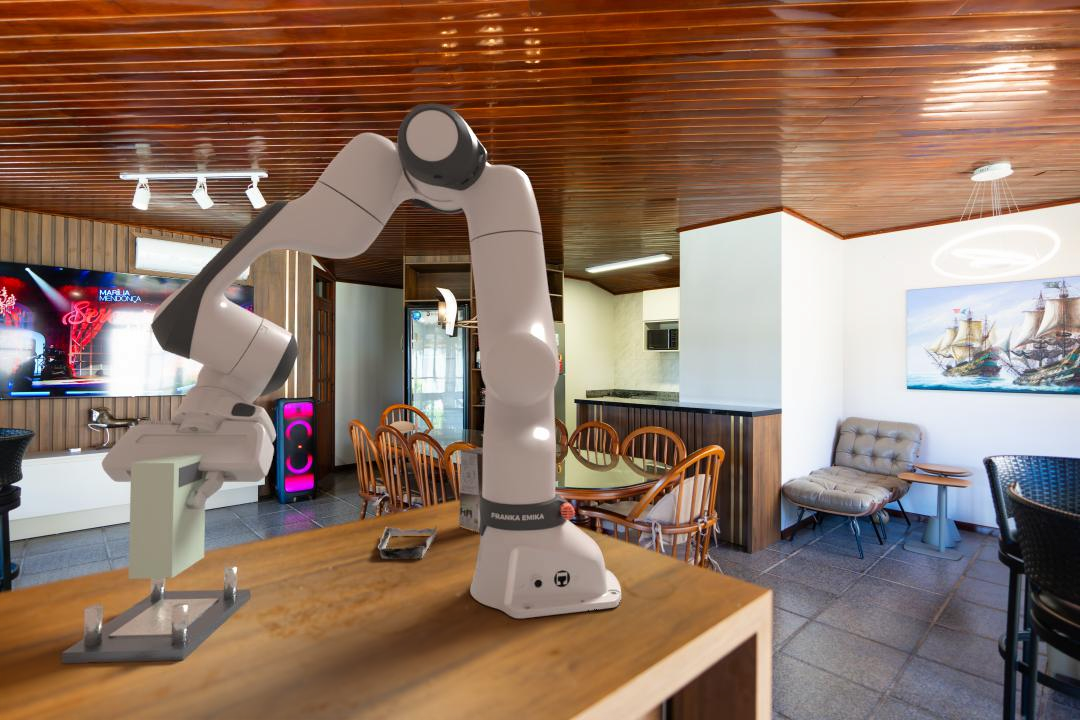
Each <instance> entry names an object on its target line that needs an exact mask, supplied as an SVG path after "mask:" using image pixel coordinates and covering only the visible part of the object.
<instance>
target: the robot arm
mask: <svg viewBox="0 0 1080 720" xmlns="http://www.w3.org/2000/svg"><path fill="white" fill-rule="evenodd" d="M396 140H397V142H393V141H392V140H390V139H389V138H387V137H385V136H383V135H380V134H377V133H374V132H362V133H359V134H358V135H355V136H354V137H353V138H352V139H351V140H350V141H349V142H348V143H347V144H346V145H345V146H344V147H343V148H342V149H340V151H339V152H338V153H337V154H336V156H335V157H334V158H333V159H332V160H331V161H330V163H329V164H328V166H327V167H326V168H325V170H324V171H323V172H322V173H321V175H320V176H319V178H318V179H317V181H316V182H315V184H314V185H313V186H312V187H311V188H310V189H309V190H308V191H307V192H306V193H304V195H302V196H300V197H298V198H296V199H293V200H291V201H287V200H279V199H278V200H275V201H274V202H272V203H269V205H267V206H266V207H264V208H263V209H262V210H261V211H260V212H259V213H258V214H257V215H256V216H255V217H254V218H253V219H251V221H249V223H247V224H246V225H245V226H243V227H242V229H240V230H239V232H238V233H236V234H235V236H233V237H232V238H231V239H230V240H229V241H228V242H227V244H225V245H224V247H222V248H221V249H220V250H219V252H218V253H216V254H215V255H214V256H213V257H212V258H211V259H210V260H209V261H208V263H206V264H205V265H204V266H203V267H202V269H201V270H200V271H199V272H198V273H197V275H196V276H194V277H193V278H192V279H191V280H190V281H188V282H187V283H185V284H184V285H183V286H181V287H179V288H178V289H177V290H175V291H174V292H172V294H170V295H169V296H167V297H166V298H165V299H164V300H163V301H162V302H161V304H160V305H159V307H158V308H157V309H156V311H155V313H154V315H153V318H152V323H151V324H150V327H151V329H152V332H153V334H154V337H155V339H156V341H157V343H158V344H159V346H160V348H161V349H162V350H163V351H165V352H167V353H171V354H174V355H176V356H179V357H181V358H184V359H188V360H193V361H195V362H197V363H199V364H201V365H203V366H202V367H201V369H200V370H199V372H198V375H197V379H196V380H197V381H196V384H194V385H193V386H192V387H191V388H190V389H189V390H188V391H187V393H186V395H185V397H183V400H182V401H181V403H180V405H179V407H178V409H176V412H175V413H174V415H173V417H172V419H171V420H144V421H143V422H142V423H138V424H135V425H132V426H130V428H128V429H127V431H126V432H125V433H124V434H123V435H122V436H121V437H120V438H119V439H118V441H116V442H115V444H114V445H113V446H112V447H111V449H110V450H109V451H108V453H107V454H106V455H105V456H104V458H103V460H102V462H101V465H102V469H103V471H104V472H105V473H106V475H107V476H108V477H109V478H110V479H111V480H112V481H113V482H119V483H124V482H125V483H129V482H130V483H131V463H133V462H137V461H141V460H144V459H148V458H152V457H155V456H159V455H163V454H204V455H203V457H202V459H201V461H200V463H199V466H198V470H199V471H204V472H205V474H206V477H205V479H206V480H205V481H206V483H205V484H204V485H202V486H201V487H200V488H199V489H198V490H197V491H190V493H189V495H188V498H187V499H186V501H185V505H186V506H187V507H188V509H202V508H203V506H204V504H205V505H206V501H207V499H209V498H211V497H212V496H213V495H214V494H215V493H216V492H218V491H219V490H220V489H221V488H222V487H223V484H224V483H235V482H236V483H243V482H245V483H248V482H249V483H256V482H257V483H258V482H260V481H261V480H262V479H264V478H266V476H268V473H269V470H270V468H271V466H272V461H273V456H274V453H275V448H274V445H273V443H274V441H275V440H276V437H277V434H276V429H275V425H274V424H273V421H272V419H271V417H270V416H269V414H268V412H267V411H266V410H265V408H264V407H263V406H259V405H256V404H253V403H254V402H255V400H256V399H257V398H258V397H259V398H261V397H265V396H267V395H269V394H272V393H275V392H277V391H278V390H281V388H282V387H283V386H284V385H285V383H286V382H287V381H288V379H289V377H290V374H291V372H292V370H293V368H294V365H295V364H296V360H297V358H298V356H299V353H300V352H299V348H298V342H297V339H296V337H295V335H294V334H293V333H291V332H290V331H289V330H287V329H285V328H283V327H281V326H280V325H278V324H276V323H274V322H272V321H270V320H269V319H267V318H264V317H261V316H259V315H257V314H256V313H254V312H251V311H249V310H248V309H246V308H244V307H242V306H240V305H239V304H236V303H234V302H233V301H231V300H229V299H228V298H227V296H226V295H225V291H226V290H227V289H229V288H230V286H231V285H232V284H233V283H234V282H235V281H237V279H238V278H239V277H240V276H241V275H242V274H243V273H244V272H245V271H246V270H248V268H249V267H251V265H252V264H253V263H254V262H255V261H256V260H257V259H258V258H259V257H260V256H262V255H263V254H266V253H268V252H271V251H275V250H287V251H293V252H300V253H304V254H308V255H313V256H318V257H321V258H328V259H336V260H337V259H338V260H341V259H342V260H344V259H351V258H355V257H357V256H359V255H361V254H364V252H366V251H367V250H368V249H369V247H370V246H371V245H372V244H373V243H374V242H375V240H376V239H377V237H378V236H379V234H380V233H381V232H382V231H383V229H384V227H385V226H386V224H388V221H389V219H390V218H391V216H392V215H393V213H394V212H395V211H396V209H397V208H398V207H399V206H400V205H401V204H402V203H403V202H404V201H407V200H409V202H410V204H412V205H414V206H416V207H417V206H418V207H421V208H425V209H427V210H432V211H433V212H437V213H441V214H445V215H455V214H461V213H463V212H464V214H465V217H466V222H467V228H468V236H469V237H468V238H469V248H470V257H471V264H472V265H471V266H472V273H473V274H472V275H473V283H474V290H475V292H474V294H475V306H476V307H475V309H476V321H477V323H476V324H477V336H478V348H479V349H478V350H479V360H480V372H481V379H482V381H483V383H484V386H485V392H484V393H485V400H484V402H485V403H484V416H483V417H484V418H483V419H484V423H483V437H482V438H483V439H482V448H483V483H482V494H481V495H480V500H479V505H478V529H479V533H478V534H479V535H480V538H479V544H478V545H479V546H478V553H477V559H476V567H475V571H474V574H473V578H472V580H471V584H470V587H469V592H470V595H471V596H472V597H473V599H474V600H475V601H477V602H479V603H481V604H483V605H484V606H487V607H490V608H494V609H496V610H497V609H498V610H500V611H502V612H504V613H505V614H507V615H508V616H509V617H511V618H514V619H527V618H528V619H529V618H535V617H545V616H553V615H562V614H569V613H570V614H572V613H579V612H587V611H588V610H589V611H595V610H596V609H597V610H604V609H611V608H616V607H618V606H619V604H620V603H621V601H622V588H621V585H620V581H619V580H618V578H617V577H616V575H614V573H613V572H612V571H610V570H609V569H607V568H606V563H605V558H604V555H603V553H602V550H601V548H600V547H599V544H597V543H596V541H595V540H594V539H593V538H592V537H591V536H590V535H588V534H586V533H585V532H584V531H583V530H581V529H580V528H579V526H578V527H577V525H575V524H574V523H572V522H571V521H570V520H572V519H573V518H574V517H575V514H576V511H575V508H574V506H573V505H572V504H571V503H570V502H569V501H568V500H567V499H565V497H564V496H563V495H559V494H557V493H556V472H557V471H556V469H557V468H556V467H557V466H556V460H557V459H556V458H557V455H556V454H557V449H556V448H557V446H556V444H557V442H556V441H557V439H556V420H555V419H556V418H555V417H556V416H555V415H556V414H555V387H556V385H557V383H558V381H559V376H560V371H561V370H560V368H561V367H560V357H559V350H558V343H557V342H558V341H557V338H556V337H557V336H556V329H555V323H554V322H555V321H554V316H553V315H554V314H553V310H552V309H553V308H552V303H551V297H550V291H549V285H548V283H549V282H548V276H547V275H548V274H547V267H546V257H545V249H544V247H545V246H544V241H543V240H544V239H543V238H544V237H543V232H542V223H541V219H540V218H541V217H540V214H539V213H540V212H539V209H538V205H537V200H536V197H535V193H534V190H533V186H532V183H531V181H530V179H529V176H528V175H527V174H526V173H525V172H524V170H523V171H522V170H521V169H519V168H518V167H515V166H512V165H507V164H506V165H505V164H490V163H489V162H488V152H487V150H486V148H485V147H484V145H483V144H482V143H481V141H480V140H479V138H478V137H477V136H476V134H475V133H474V132H473V129H472V128H471V127H470V126H469V124H468V123H467V122H466V120H464V118H463V117H462V116H461V115H459V114H458V112H456V111H455V110H454V109H452V108H450V107H448V106H446V105H444V104H440V103H425V104H422V105H419V106H417V107H415V108H413V109H411V111H409V112H408V113H407V114H406V115H405V117H404V118H403V120H402V121H401V123H400V126H399V128H398V133H397V138H396ZM620 600H621V601H620ZM619 602H620V603H619ZM594 609H595V610H594ZM589 611H588V612H589Z"/></svg>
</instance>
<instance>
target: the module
mask: <svg viewBox="0 0 1080 720" xmlns="http://www.w3.org/2000/svg"><path fill="white" fill-rule="evenodd" d="M203 455H204V454H163V455H159V456H155V457H152V458H148V459H144V460H141V461H137V462H133V463H131V482H130V497H129V498H130V500H129V501H130V502H129V505H130V506H129V541H128V543H129V544H128V545H129V546H128V551H129V552H128V579H129V580H130V579H131V580H134V579H135V580H136V579H138V580H140V579H143V580H144V579H151V578H165V579H173V578H174V577H176V576H178V575H179V574H181V573H182V572H184V571H185V570H187V569H188V568H190V567H191V566H193V565H195V563H197V562H199V561H201V560H202V559H203V558H205V533H206V532H205V526H206V523H205V522H206V503H205V504H204V506H203V508H202V509H188V507H187V506H186V505H185V501H186V499H187V498H188V495H189V493H190V491H197V490H198V489H199V488H200V487H201V486H202V485H204V484H205V483H206V481H205V480H206V479H205V477H206V474H205V472H204V471H199V470H198V466H199V463H200V461H201V459H202V457H203Z"/></svg>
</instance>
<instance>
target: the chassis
mask: <svg viewBox="0 0 1080 720" xmlns="http://www.w3.org/2000/svg"><path fill="white" fill-rule="evenodd" d="M250 599H251V589H238V565H228V566H226V567H224V568H223V589H222V590H221V589H220V590H216V589H215V590H209V589H208V590H207V589H206V590H167V591H166V578H150V595H148V596H146V597H144V598H143V599H142V600H140V601H138V602H137V603H136V604H133V606H131V607H130V608H128V609H126V610H124V611H123V612H122V613H120V614H119V615H118V616H116V617H115V618H113V619H111V620H110V621H108V622H107V623H104V625H103V619H104V618H103V615H104V614H103V613H104V611H103V609H104V606H103V604H101V603H99V604H92V605H90V606H86V608H84V624H83V626H84V627H83V628H84V634H83V638H82V639H81V640H80V641H77V642H76V643H75V644H73V645H71V646H70V647H69V648H67V649H66V650H64V651H62V652H61V664H86V663H87V664H91V663H92V662H99V663H122V662H123V663H125V662H126V663H128V662H130V663H131V662H158V661H159V662H161V661H162V662H166V661H170V662H171V661H184V660H185V659H186V658H188V657H189V656H190V654H192V653H193V652H194V651H195V650H196V649H197V648H198V647H199V646H200V645H201V644H203V642H205V641H206V640H207V639H208V638H209V637H210V636H211V635H212V634H213V633H214V632H215V631H216V630H217V629H218V628H220V627H221V626H222V625H223V624H224V623H225V622H226V621H227V620H228V619H230V617H232V616H233V615H234V614H235V613H236V612H237V611H238V610H239V609H241V607H242V606H244V604H246V603H247V602H248V601H249V600H250ZM110 661H111V662H110ZM89 662H91V663H89Z"/></svg>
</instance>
